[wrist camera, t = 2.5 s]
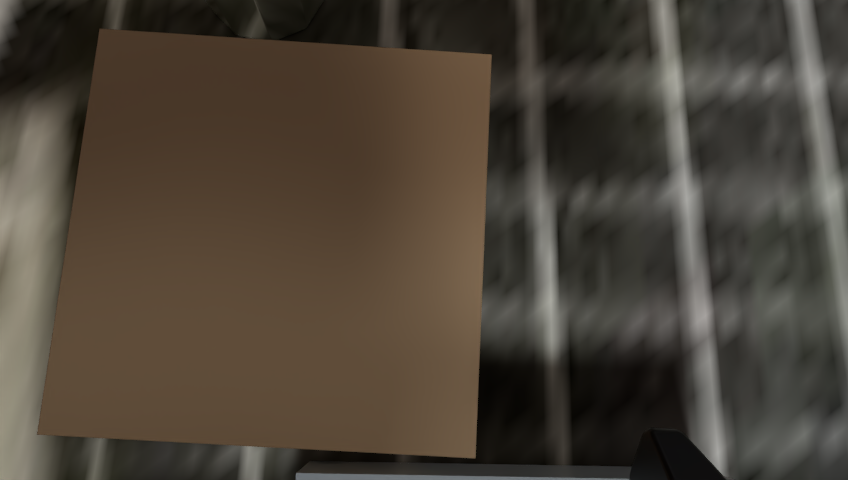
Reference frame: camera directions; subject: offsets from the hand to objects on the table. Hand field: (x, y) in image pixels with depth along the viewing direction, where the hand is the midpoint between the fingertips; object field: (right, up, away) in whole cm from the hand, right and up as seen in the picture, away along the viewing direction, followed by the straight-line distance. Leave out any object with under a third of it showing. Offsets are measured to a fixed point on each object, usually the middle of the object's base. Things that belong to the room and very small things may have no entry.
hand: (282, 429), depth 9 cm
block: (0, 0, +10) cm, 10 cm away
